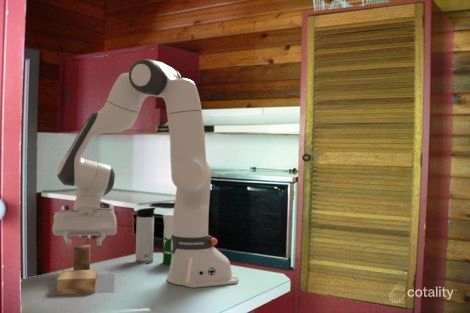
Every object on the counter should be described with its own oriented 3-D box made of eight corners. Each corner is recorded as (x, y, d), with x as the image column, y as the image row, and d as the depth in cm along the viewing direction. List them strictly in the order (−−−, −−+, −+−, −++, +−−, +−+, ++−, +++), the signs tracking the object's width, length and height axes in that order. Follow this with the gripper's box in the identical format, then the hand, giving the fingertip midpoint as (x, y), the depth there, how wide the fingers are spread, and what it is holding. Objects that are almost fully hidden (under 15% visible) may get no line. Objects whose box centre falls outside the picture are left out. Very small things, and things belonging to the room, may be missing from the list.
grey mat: (115, 275, 150) (115, 274, 150) (113, 294, 130) (113, 291, 130) (56, 277, 146) (56, 275, 146) (44, 296, 126) (44, 294, 126)
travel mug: (150, 264, 167) (151, 208, 167) (132, 263, 168) (134, 207, 168) (156, 260, 173) (157, 206, 173) (139, 259, 174) (141, 206, 174)
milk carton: (191, 261, 173) (192, 207, 173) (181, 266, 165) (182, 210, 165) (170, 259, 176) (171, 206, 176) (159, 264, 167) (160, 208, 167)
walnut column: (89, 276, 146) (90, 244, 146) (88, 279, 142) (89, 247, 142) (74, 276, 145) (75, 244, 145) (73, 280, 141) (73, 247, 141)
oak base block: (97, 282, 139) (97, 269, 139) (94, 292, 129) (95, 278, 129) (61, 284, 137) (62, 270, 137) (56, 294, 127) (56, 279, 127)
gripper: (53, 204, 154) (48, 239, 144) (117, 204, 158) (116, 238, 149) (55, 216, 158) (50, 250, 148) (117, 216, 162) (116, 249, 153)
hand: (83, 244), depth 148 cm, fingers open, 8 cm apart
